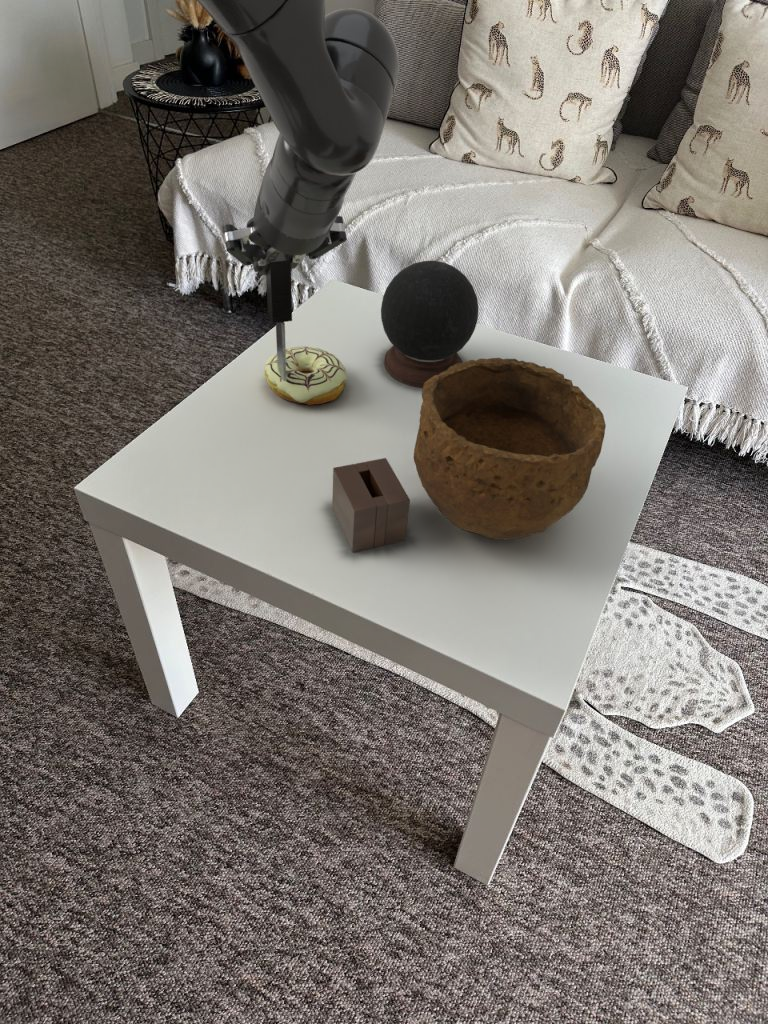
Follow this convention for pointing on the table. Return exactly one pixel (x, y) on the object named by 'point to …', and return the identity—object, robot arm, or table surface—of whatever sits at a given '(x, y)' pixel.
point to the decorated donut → (307, 376)
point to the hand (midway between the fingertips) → (272, 266)
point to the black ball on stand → (427, 320)
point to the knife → (280, 303)
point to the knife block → (370, 504)
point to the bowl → (506, 446)
